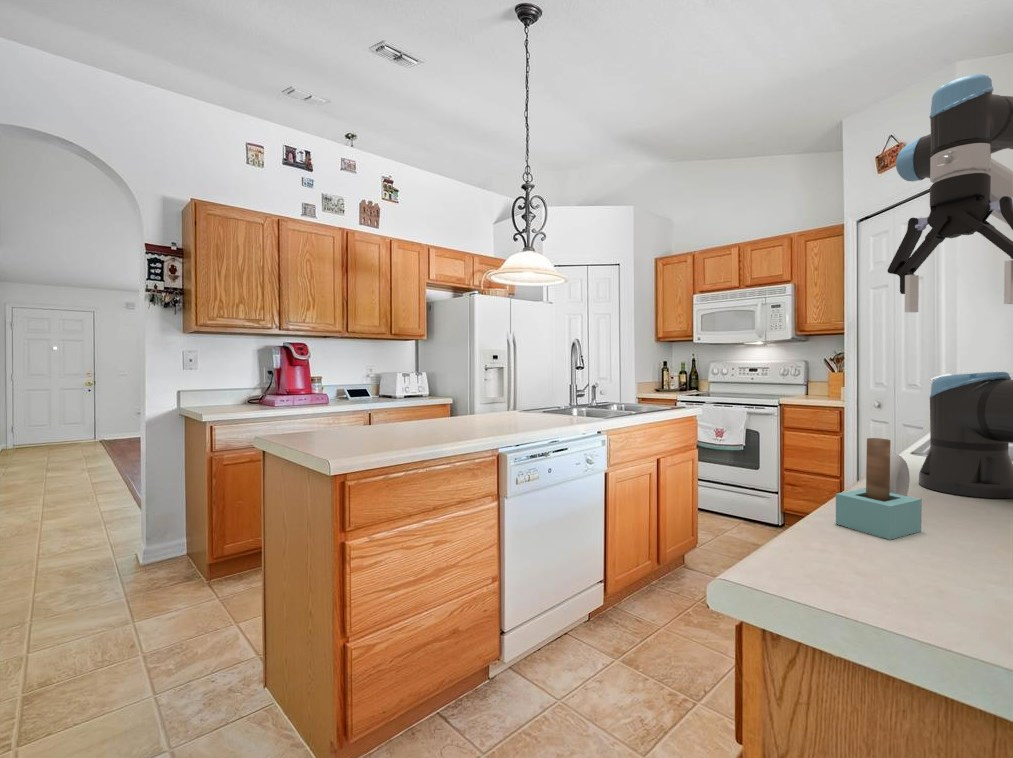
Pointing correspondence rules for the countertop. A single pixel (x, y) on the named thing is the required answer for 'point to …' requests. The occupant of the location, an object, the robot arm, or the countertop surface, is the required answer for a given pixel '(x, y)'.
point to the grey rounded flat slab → (898, 475)
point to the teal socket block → (879, 514)
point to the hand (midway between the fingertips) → (957, 308)
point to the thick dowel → (878, 469)
